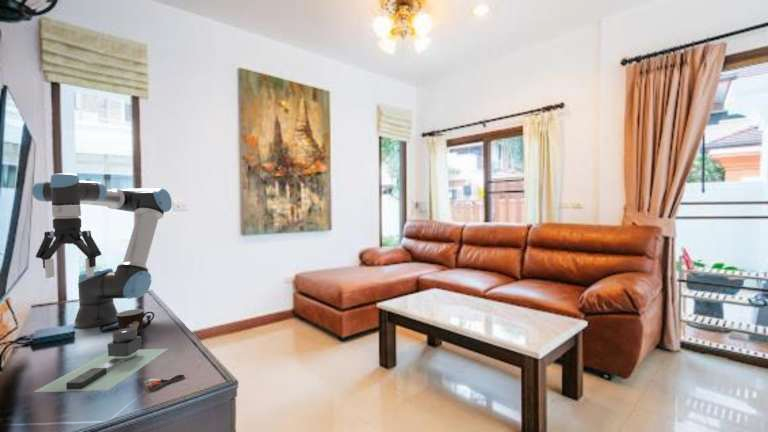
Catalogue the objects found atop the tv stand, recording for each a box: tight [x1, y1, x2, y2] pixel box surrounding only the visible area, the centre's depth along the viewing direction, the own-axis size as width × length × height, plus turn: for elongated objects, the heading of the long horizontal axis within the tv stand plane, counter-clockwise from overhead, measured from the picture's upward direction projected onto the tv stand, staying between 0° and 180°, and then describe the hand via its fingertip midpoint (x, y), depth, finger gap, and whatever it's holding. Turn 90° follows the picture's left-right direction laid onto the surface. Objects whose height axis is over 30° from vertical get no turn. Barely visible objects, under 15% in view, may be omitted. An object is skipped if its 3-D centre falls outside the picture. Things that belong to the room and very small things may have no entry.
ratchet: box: [66, 351, 137, 389], centre depth 108 cm, size 23×6×5 cm, turn 2°
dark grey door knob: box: [107, 328, 143, 356], centre depth 116 cm, size 6×6×7 cm
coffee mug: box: [116, 308, 155, 337], centre depth 136 cm, size 12×9×10 cm
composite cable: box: [143, 374, 186, 392], centre depth 99 cm, size 10×5×2 cm, turn 128°
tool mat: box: [33, 348, 169, 393], centre depth 109 cm, size 28×20×1 cm
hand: (70, 276), depth 126 cm, fingers open, 13 cm apart
